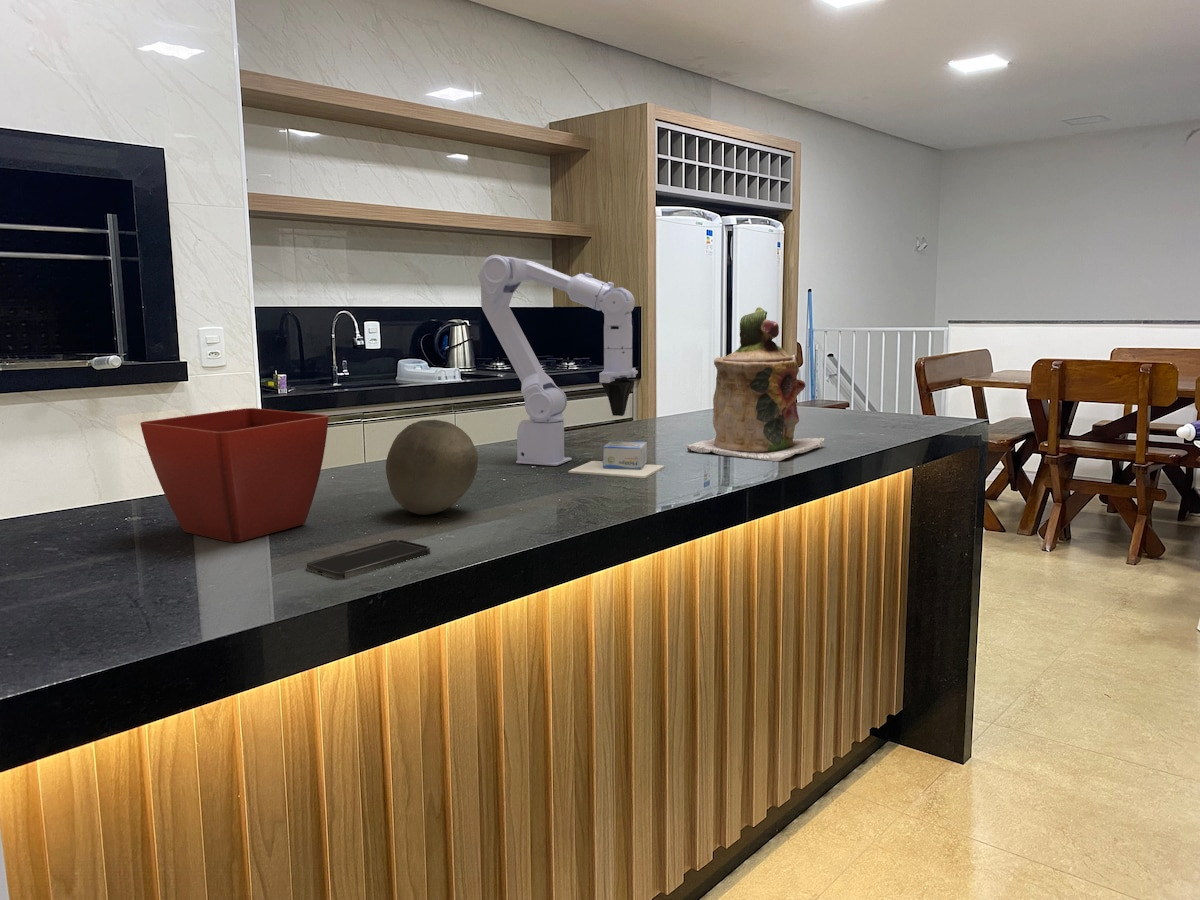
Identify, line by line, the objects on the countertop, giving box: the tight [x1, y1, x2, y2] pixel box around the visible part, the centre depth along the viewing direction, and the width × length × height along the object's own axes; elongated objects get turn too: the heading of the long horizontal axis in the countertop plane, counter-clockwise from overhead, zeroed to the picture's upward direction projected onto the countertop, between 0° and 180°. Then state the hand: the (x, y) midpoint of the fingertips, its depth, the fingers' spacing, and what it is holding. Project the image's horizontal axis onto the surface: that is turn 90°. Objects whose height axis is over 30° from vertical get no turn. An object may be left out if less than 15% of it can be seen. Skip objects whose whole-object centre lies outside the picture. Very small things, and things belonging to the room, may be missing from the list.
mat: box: [567, 460, 666, 479], centre depth 180 cm, size 16×12×1 cm
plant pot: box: [140, 407, 329, 543], centre depth 134 cm, size 19×19×17 cm
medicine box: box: [602, 440, 648, 469], centre depth 182 cm, size 8×4×9 cm
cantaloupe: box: [385, 419, 479, 516], centre depth 143 cm, size 14×14×15 cm
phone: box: [306, 539, 431, 580], centre depth 118 cm, size 8×1×15 cm
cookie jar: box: [685, 306, 825, 462], centre depth 201 cm, size 25×25×32 cm
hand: (618, 415), depth 183 cm, fingers closed
